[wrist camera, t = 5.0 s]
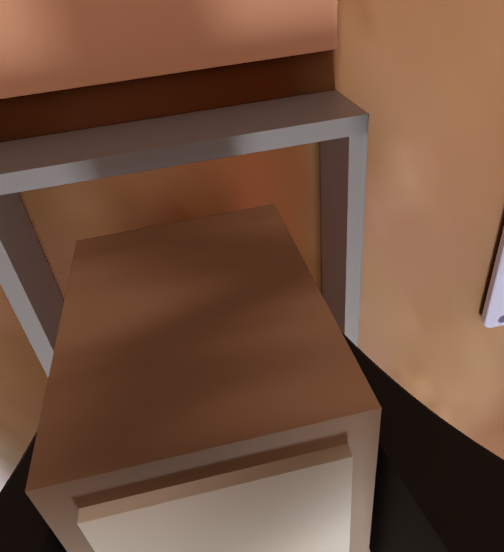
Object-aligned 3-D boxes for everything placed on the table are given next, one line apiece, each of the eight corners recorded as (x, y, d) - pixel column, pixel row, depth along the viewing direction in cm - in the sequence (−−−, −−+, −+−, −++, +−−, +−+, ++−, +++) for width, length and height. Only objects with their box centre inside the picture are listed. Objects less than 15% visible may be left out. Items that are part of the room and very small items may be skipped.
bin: (335, 89, 17) (368, 114, 14) (333, 416, 27) (352, 461, 25) (-22, 145, 16) (-52, 182, 13) (121, 464, 26) (119, 517, 24)
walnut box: (274, 204, 11) (388, 420, 6) (289, 380, 14) (368, 608, 9) (76, 240, 11) (21, 508, 6) (141, 413, 14) (143, 671, 9)
